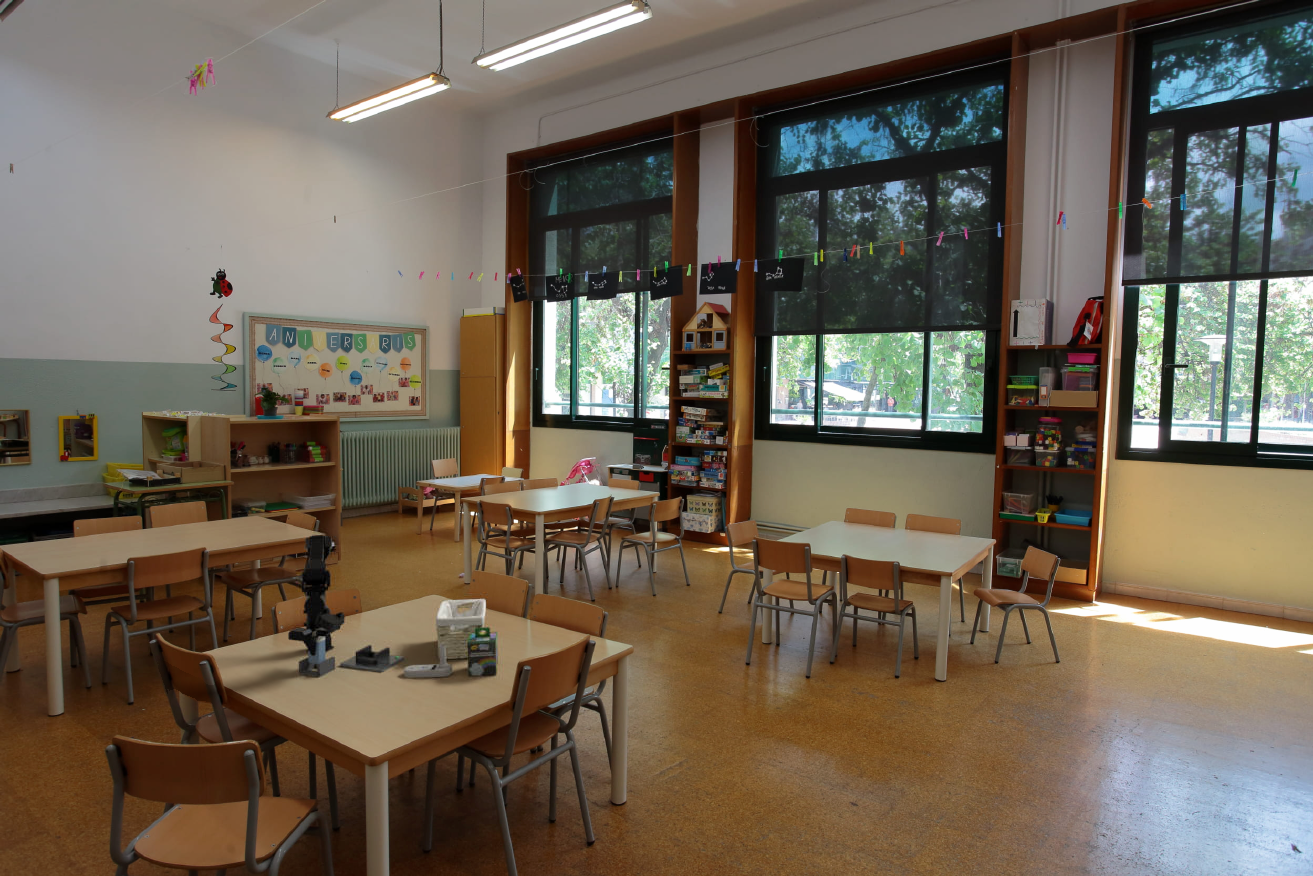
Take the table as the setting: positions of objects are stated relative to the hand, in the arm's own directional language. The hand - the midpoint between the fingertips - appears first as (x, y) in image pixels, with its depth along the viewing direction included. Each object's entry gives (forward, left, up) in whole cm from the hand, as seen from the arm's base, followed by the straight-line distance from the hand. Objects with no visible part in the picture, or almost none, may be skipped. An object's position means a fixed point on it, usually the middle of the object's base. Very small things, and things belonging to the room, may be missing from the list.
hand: (316, 653), depth 248 cm
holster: (0, 0, -6) cm, 6 cm away
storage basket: (+33, +34, -6) cm, 47 cm away
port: (+12, +12, -6) cm, 18 cm away
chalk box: (+50, +17, -6) cm, 53 cm away
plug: (0, 0, -3) cm, 3 cm away
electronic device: (+35, +9, -6) cm, 37 cm away
